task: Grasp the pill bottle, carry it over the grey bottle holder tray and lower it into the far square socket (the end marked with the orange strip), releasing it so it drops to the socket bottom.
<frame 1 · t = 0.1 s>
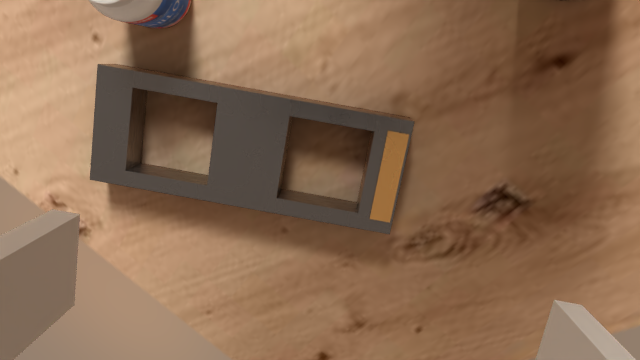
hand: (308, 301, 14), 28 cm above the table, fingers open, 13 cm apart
grey bottle holder tray: (254, 145, 41), on the table
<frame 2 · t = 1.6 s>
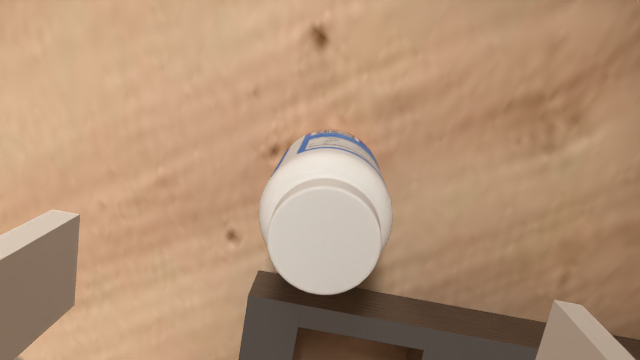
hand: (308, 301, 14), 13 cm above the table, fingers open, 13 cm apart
pill bottle: (330, 176, 27), on the table
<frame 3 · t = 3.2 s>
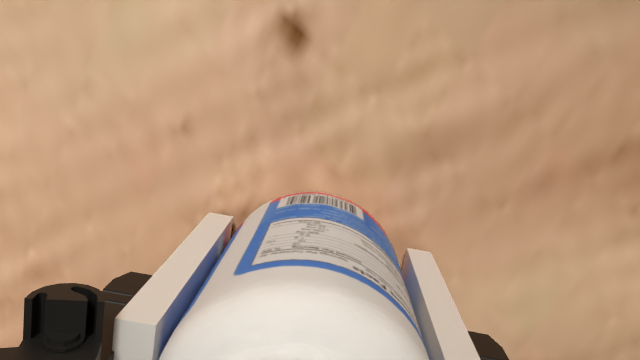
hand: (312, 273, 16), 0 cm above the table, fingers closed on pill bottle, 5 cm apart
pill bottle: (313, 266, 16), on the table, touching gripper
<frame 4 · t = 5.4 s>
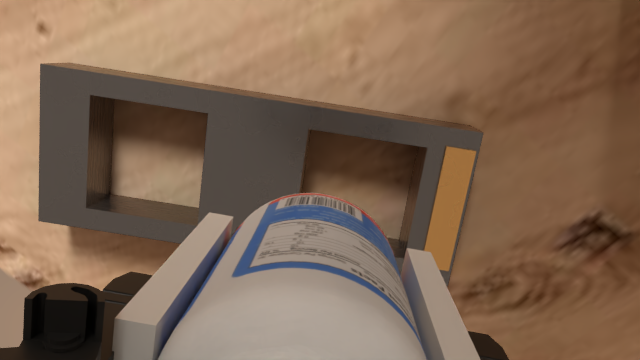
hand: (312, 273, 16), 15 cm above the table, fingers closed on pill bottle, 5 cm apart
pill bottle: (312, 267, 16), point 15 cm above the table, touching gripper
grey bottle holder tray: (260, 167, 31), on the table
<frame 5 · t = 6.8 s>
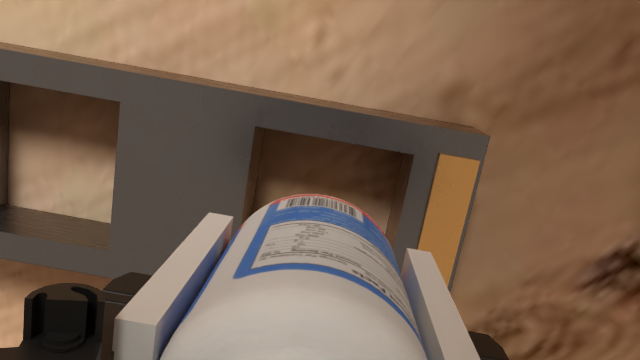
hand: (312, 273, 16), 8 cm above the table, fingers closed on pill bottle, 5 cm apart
pill bottle: (313, 268, 16), point 8 cm above the table, touching gripper
grey bottle holder tray: (199, 174, 24), on the table
when the fingers open (4 cm above the table, at t = 7.9 s): pill bottle drops 3 cm, resting in grey bottle holder tray.
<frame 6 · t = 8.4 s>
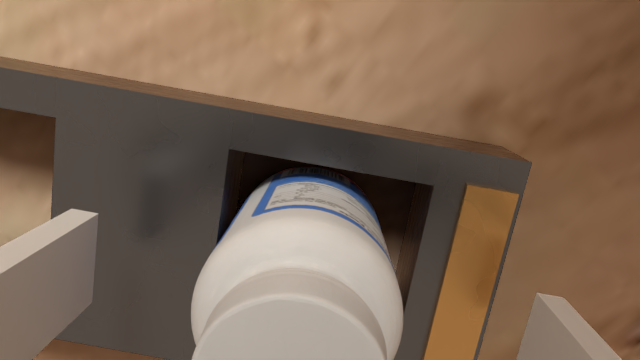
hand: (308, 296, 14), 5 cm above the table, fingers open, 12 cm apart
pill bottle: (310, 229, 19), resting in grey bottle holder tray
grey bottle holder tray: (165, 205, 19), on the table
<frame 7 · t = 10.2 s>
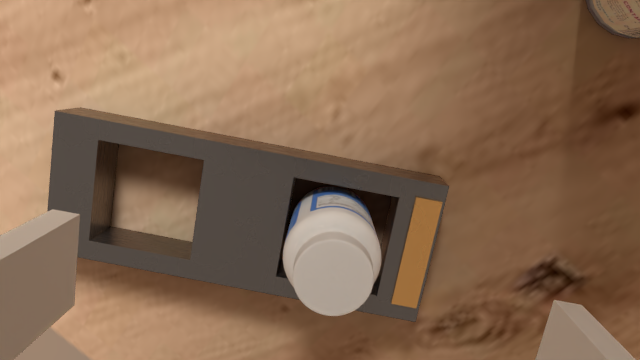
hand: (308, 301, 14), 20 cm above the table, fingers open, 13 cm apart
pill bottle: (332, 222, 34), resting in grey bottle holder tray
grey bottle holder tray: (249, 206, 34), on the table
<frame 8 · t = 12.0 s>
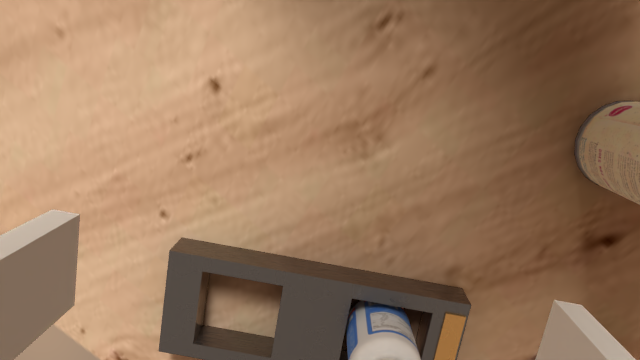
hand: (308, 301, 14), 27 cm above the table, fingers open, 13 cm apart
pill bottle: (377, 321, 43), resting in grey bottle holder tray
grey bottle holder tray: (312, 310, 43), on the table
aerosol can: (618, 144, 39), on the table
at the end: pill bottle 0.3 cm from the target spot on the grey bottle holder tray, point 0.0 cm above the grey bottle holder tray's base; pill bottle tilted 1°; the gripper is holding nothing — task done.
